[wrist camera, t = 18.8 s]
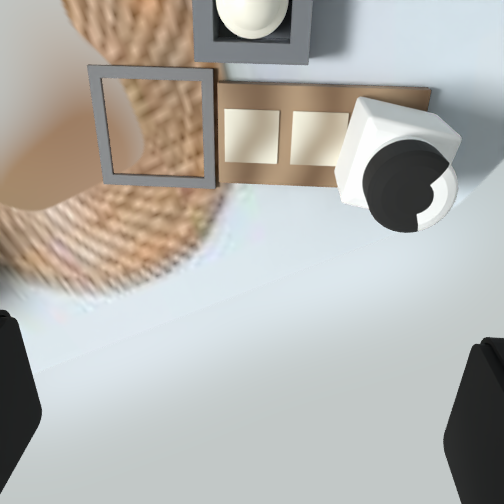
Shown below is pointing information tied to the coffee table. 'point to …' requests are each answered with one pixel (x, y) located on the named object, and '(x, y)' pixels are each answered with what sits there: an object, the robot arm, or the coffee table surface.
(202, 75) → the frame
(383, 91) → the board
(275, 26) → the dome
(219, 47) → the dome housing
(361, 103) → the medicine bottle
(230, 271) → the coffee table surface
